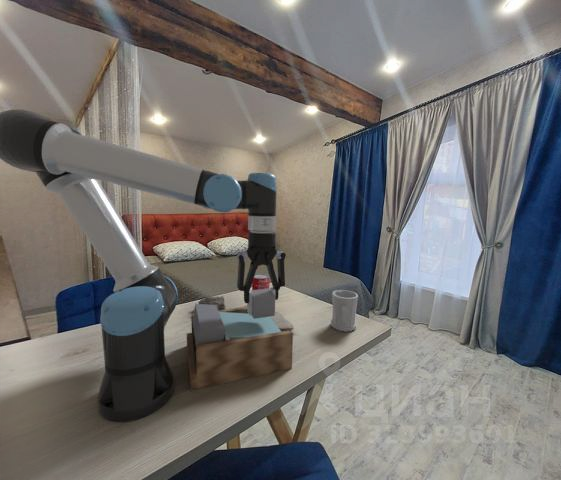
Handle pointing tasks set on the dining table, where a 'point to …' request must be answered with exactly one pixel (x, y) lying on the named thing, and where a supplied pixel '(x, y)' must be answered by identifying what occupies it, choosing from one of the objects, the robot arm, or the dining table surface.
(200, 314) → the trapdoor
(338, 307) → the cup
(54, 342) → the dining table surface
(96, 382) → the dining table surface
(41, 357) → the dining table surface
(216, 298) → the rock
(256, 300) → the block
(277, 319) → the stone
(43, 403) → the dining table surface
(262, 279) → the soda can
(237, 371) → the brown open boxy piece
